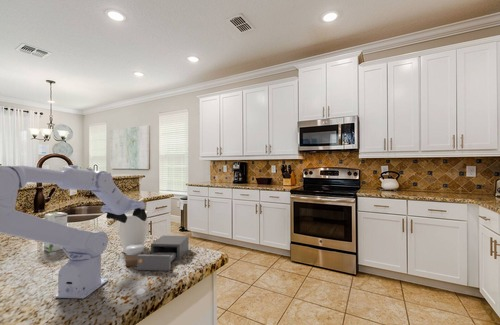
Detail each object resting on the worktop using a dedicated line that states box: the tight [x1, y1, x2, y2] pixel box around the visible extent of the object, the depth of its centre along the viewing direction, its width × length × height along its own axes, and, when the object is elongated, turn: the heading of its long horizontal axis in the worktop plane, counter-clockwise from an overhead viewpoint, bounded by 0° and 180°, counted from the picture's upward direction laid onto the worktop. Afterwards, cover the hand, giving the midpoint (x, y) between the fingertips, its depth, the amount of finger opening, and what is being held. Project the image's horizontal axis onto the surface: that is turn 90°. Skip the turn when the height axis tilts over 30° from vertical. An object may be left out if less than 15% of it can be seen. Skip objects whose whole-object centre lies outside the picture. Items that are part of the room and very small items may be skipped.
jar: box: [118, 210, 148, 254], centre depth 94 cm, size 11×10×15 cm
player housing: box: [150, 235, 190, 261], centre depth 89 cm, size 10×11×6 cm
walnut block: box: [125, 251, 144, 267], centre depth 80 cm, size 4×4×4 cm
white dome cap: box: [125, 244, 145, 255], centre depth 80 cm, size 6×6×2 cm
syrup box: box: [43, 211, 68, 253], centre depth 95 cm, size 6×6×14 cm
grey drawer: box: [136, 252, 177, 272], centre depth 80 cm, size 11×11×5 cm
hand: (135, 219), depth 84 cm, fingers open, 7 cm apart
